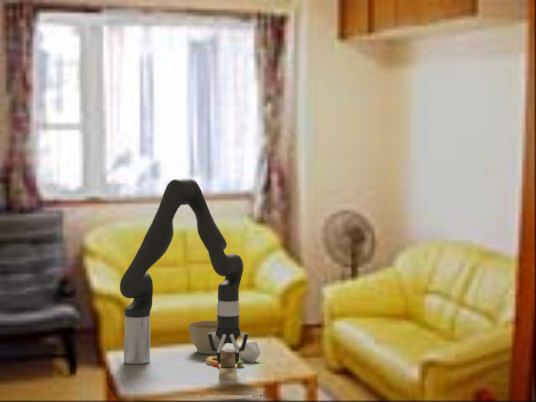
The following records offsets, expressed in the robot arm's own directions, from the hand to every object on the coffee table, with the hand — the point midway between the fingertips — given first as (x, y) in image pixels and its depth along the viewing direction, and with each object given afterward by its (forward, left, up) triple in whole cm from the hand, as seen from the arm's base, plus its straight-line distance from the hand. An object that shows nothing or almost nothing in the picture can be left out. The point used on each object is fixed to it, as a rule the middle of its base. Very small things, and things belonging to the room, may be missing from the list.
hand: (227, 362), depth 289 cm
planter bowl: (-8, +43, -6) cm, 44 cm away
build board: (0, 0, -6) cm, 6 cm away
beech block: (0, 0, -5) cm, 5 cm away
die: (+7, +27, -6) cm, 29 cm away
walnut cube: (0, 0, -1) cm, 1 cm away
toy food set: (-1, +19, -7) cm, 20 cm away
